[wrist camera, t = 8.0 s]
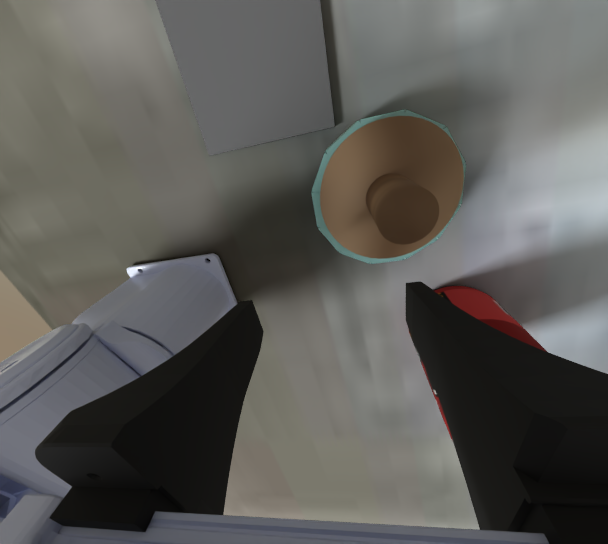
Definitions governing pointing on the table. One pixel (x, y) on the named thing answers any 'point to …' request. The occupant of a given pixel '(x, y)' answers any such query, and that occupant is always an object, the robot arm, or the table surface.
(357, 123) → the bowl
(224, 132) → the mat
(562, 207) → the table surface
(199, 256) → the robot arm
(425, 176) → the lid
